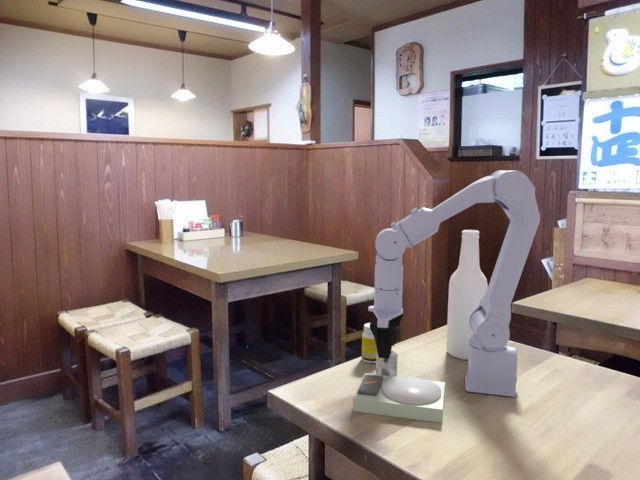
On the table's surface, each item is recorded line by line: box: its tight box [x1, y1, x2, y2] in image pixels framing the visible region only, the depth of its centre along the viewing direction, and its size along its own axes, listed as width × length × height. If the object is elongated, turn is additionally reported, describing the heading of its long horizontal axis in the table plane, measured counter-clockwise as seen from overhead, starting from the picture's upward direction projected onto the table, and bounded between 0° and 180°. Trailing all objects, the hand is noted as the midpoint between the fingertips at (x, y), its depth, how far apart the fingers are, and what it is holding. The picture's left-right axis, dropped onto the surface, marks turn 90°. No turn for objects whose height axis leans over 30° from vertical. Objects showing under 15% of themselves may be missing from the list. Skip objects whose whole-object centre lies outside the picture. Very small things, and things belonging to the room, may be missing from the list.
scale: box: [352, 373, 446, 424], centre depth 98 cm, size 16×12×3 cm
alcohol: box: [445, 229, 489, 361], centre depth 121 cm, size 9×9×30 cm
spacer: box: [375, 350, 398, 377], centre depth 107 cm, size 4×4×6 cm
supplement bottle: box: [361, 322, 377, 364], centre depth 119 cm, size 5×5×8 cm
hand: (386, 351), depth 106 cm, fingers open, 7 cm apart
